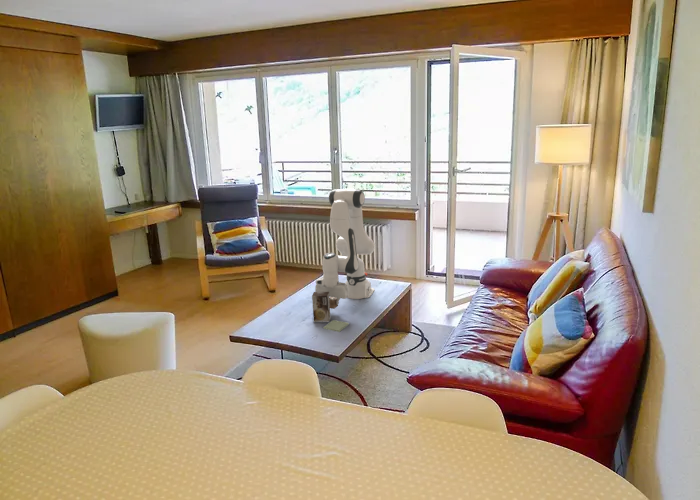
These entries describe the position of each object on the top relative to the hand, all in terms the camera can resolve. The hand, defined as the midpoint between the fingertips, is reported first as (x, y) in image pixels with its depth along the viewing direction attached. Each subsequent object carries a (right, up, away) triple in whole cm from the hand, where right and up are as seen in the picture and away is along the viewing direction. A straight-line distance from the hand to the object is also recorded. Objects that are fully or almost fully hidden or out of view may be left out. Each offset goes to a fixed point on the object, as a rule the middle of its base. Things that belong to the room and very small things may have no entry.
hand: (332, 303), depth 293 cm
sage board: (+3, -11, -17) cm, 20 cm away
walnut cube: (0, -2, +1) cm, 2 cm away
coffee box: (-6, -9, -7) cm, 13 cm away
